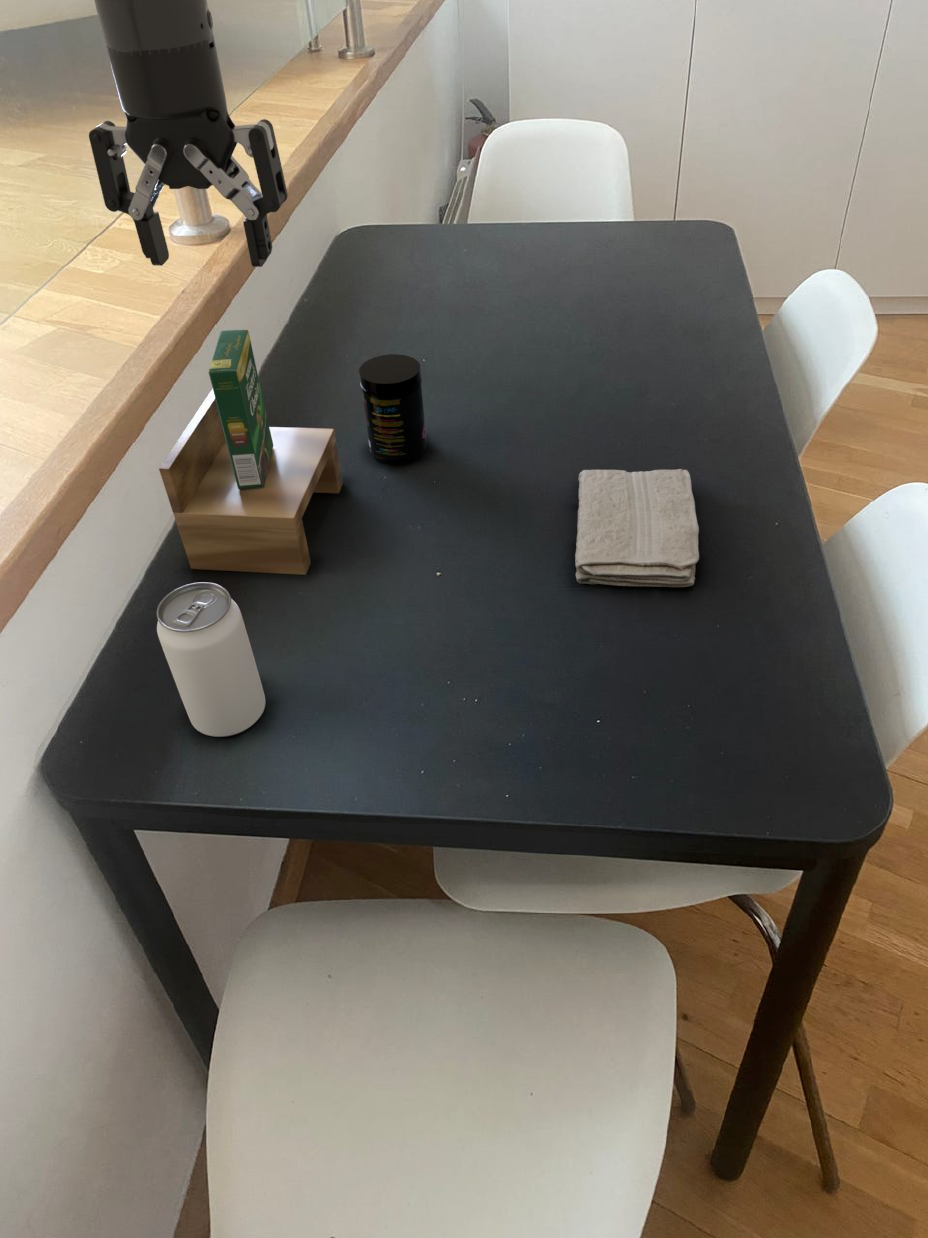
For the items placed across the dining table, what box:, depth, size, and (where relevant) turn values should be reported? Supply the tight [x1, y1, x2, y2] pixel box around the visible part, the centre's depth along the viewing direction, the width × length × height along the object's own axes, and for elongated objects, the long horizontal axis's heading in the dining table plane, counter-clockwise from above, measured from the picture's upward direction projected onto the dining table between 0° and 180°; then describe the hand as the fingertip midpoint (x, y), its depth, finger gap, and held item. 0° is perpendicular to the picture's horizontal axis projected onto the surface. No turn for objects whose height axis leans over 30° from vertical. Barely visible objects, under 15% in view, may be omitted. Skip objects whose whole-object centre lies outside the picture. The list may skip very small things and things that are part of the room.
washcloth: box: [574, 468, 700, 588], centre depth 92 cm, size 12×18×3 cm, turn 175°
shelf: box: [158, 388, 344, 576], centre depth 94 cm, size 16×12×12 cm
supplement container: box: [358, 353, 428, 465], centre depth 103 cm, size 7×7×10 cm
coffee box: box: [208, 329, 274, 490], centre depth 88 cm, size 8×3×13 cm, turn 2°
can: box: [156, 581, 266, 738], centre depth 74 cm, size 6×6×12 cm
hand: (210, 262), depth 76 cm, fingers open, 8 cm apart
